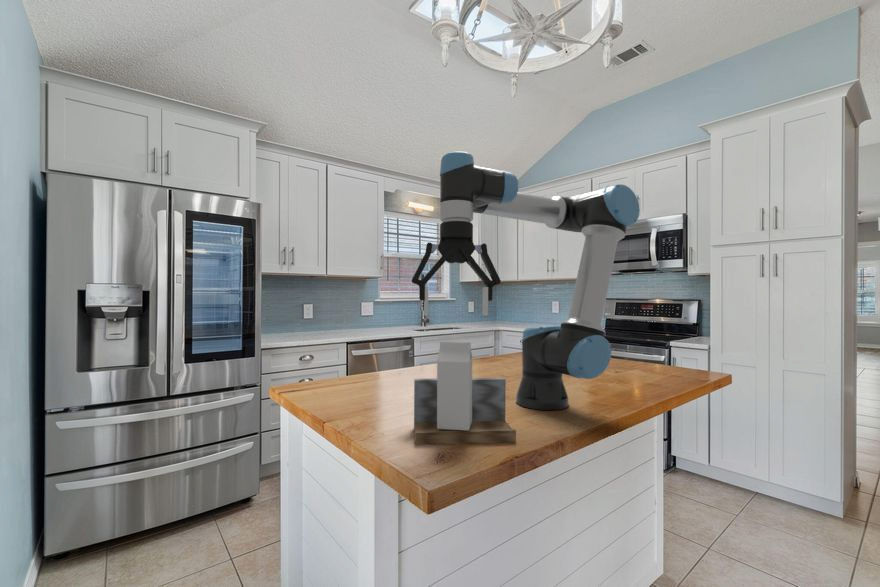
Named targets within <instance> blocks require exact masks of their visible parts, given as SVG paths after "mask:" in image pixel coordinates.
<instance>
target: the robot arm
mask: <svg viewBox="0 0 880 587" xmlns="http://www.w3.org/2000/svg"><path fill="white" fill-rule="evenodd" d="M439 176H440V177H439V180H440V182H439V183H440V186H439V187H440V189H439V191H440V193H439V194H440V199H439V200H440V205H439V206H440V209H439V210H440V211H439V213H440V214H439V220H440V221H441V223H440V224H439V243H438V244H436V243H433V242H427V243H426V245H425V253H424V255H423V257H422V259H421V261H420V263H419V265H418V267H417V269H416V270H415V273H414V275H413V277H412V278H411V283H412V284H415V285H417V286H418V288H419V289H418V292H419V294H418V295H419V301H423V302H424V303H423V316H425V317H426V316H428V317H429V286H426V284H427V283H429V281H430V280H431V279H432V277H433V276H434V275H435V274H436V273H437V272H438V270H439V269H441V267H442V266H443V265H444V264H445V262H446V263H448V264H464V263H466V264H467V265H468V266H469V267H470V268H471V270H472V271H473V273H475V275H476V276H477V277H478V278H479V279H480V280H481V281H482V283H483V284H484V286H482V294H481V295H482V302H481V303H482V305H481V306H482V307H481V308H482V309H481V310H482V312H481V314H482V316H489V302H492V301H493V291H494V290H493V288H494V286H497V285H500V284H501V282H502V280H501V278H500V276H499V274H498V271H497V270H496V268H495V265H494V263H493V262H492V258H490V256H489V253H488V246H487V243H484V242H483V243H482V244H474V225H473V223H472V221H474V213H475V214H483V215H488V216H494V217H500V218H507V219H512V220H513V219H514V220H518V221H519V220H520V221H526V222H531V223H532V222H533V223H539V224H545V226H546V227H547V228H550V229H555V230H560V231H566V232H571V233H582V234H583V236H584V237H585V238H584V243H583V247H582V252H581V257H580V261H579V266H578V272H577V275H576V280H575V285H574V288H573V289H574V290H573V293H572V298H571V303H570V308H569V313H568V317H567V318H566V319H565V320H563V321H561V323H560V325H551V326H536V327H535V326H534V327H532V326H531V327H526V328H525V329H524V330H523V332H522V339H521V342H522V343H521V350H522V351H521V353H522V354H521V355H522V356H521V360H522V361H521V364H522V366H521V367H522V368H521V369H522V371H521V372H522V375H521V380H520V383H519V386H518V388H517V392H516V395H515V398H516V399H515V402H516V404H518V405H519V406H521V407H525V408H528V409H533V410H543V411H556V410H557V411H558V410H563V409H566V408H568V407H569V396H568V392H567V389H566V386H565V382H564V381H563V380H564V379H563V375H566V376H571V377H573V378H577V379H583V380H584V379H585V380H593V379H596V378H597V377H599V376H600V375H601V374H603V373H604V372H605V371H606V370H607V368H608V366H609V365H610V362H611V358H612V349H611V344H610V341H609V340H608V339H607V338H605V337H606V330H605V329H604V328H603V327H602V320H603V316H604V311H605V306H606V300H607V295H608V290H609V287H610V286H609V285H610V281H611V278H612V271H613V267H614V263H615V262H614V261H615V257H616V253H617V252H616V251H617V247H618V242H619V241H621V240H622V239H624V238H625V237H626V232H627V228H628V227H630V226H632V225H634V224H635V223H636V222H637V221H638V219H639V217H640V203H639V200H638V198H637V196H636V194H635V192H634V191H633V189H631V187H629V186H628V185H625V184H620V183H617V184H612V185H607V186H605V187H602V188H599V189H595V190H590V191H586V192H584V193H583V192H582V193H580V194H576V195H571V196H565V197H564V196H558V195H556V196H555V195H554V196H553V197H551V198H550V197H545V196H540V195H534V194H530V193H525V192H519V180H518V177H517V176H516V175H515V173H512V172H509V171H506V170H504V169H494V168H487V167H481V166H478V165H475V160H474V156H473V155H472V154H471V153H469V152H467V151H458V150H457V151H451V152H447V153H446V154H444V155H443V156H442V158H441V160H440V171H439ZM436 250H437V251H438V252H439V254H440V255H441V257H440V258H439V259H438V260H437V262H435V264H434V265H433V266H432V267H431V269H430V270H429V271H428V272H427V274H426V275H424V277H423V278H422V279H420V277H421V275H422V273H423V271H424V268H425V267H426V265H427V263H428V262H429V259H430V257H431V254H434V253H435V251H436ZM475 251H476V253H477V254H479V255H480V258H481V259H482V262H483V263H484V266H485V268H486V270H487V272H488V274H489V277H490V278H491V279H490V278H489V277H488V275H487V274H486V273H485V272H484V270H483V269H482V268H481V267H480V265H479V264H478V262H476V260H475V258H474V257H473V256H472V255H473V253H474V252H475Z"/></svg>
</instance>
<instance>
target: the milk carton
mask: <svg viewBox="0 0 880 587" xmlns="http://www.w3.org/2000/svg"><path fill="white" fill-rule="evenodd" d="M471 343H472V342H462V341H461V342H460V341H459V342H458V341H454V342H453V341H439V349H438V350H439V351H438V354H437V355H438V356H437V360H436V361H437V363H436V364H437V366H436V367H437V370H436V372H437V373H436V375H437V376H436V378H437V429H449V430H469V429H470V426H471V423H472V378H473V355H472V354H473V353H472V346H471V345H472V344H471Z"/></svg>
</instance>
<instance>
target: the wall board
mask: <svg viewBox="0 0 880 587" xmlns="http://www.w3.org/2000/svg"><path fill="white" fill-rule="evenodd" d="M413 380H414V390H413V391H414V392H413V393H414V395H413V432H414V441H415V446H427V445H428V446H429V445H431V446H432V445H433V446H435V445H462V444H463V445H464V444H465V445H466V444H467V445H469V444H470V445H471V444H472V445H473V444H499V443H501V444H502V443H503V444H504V443H506V444H507V443H517V441H516V440H517V437H516V436H517V435H516V434H517V431H516V429H515V428H512V427H511V425H510V424H509V423H508V422H507V421H506V393H507V392H506V390H507V389H506V388H507V387H506V385H507V382H506V378H504V377H472V423H471V426H470V429H469V430H449V429H437V377H436V378H414V379H413Z"/></svg>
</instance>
